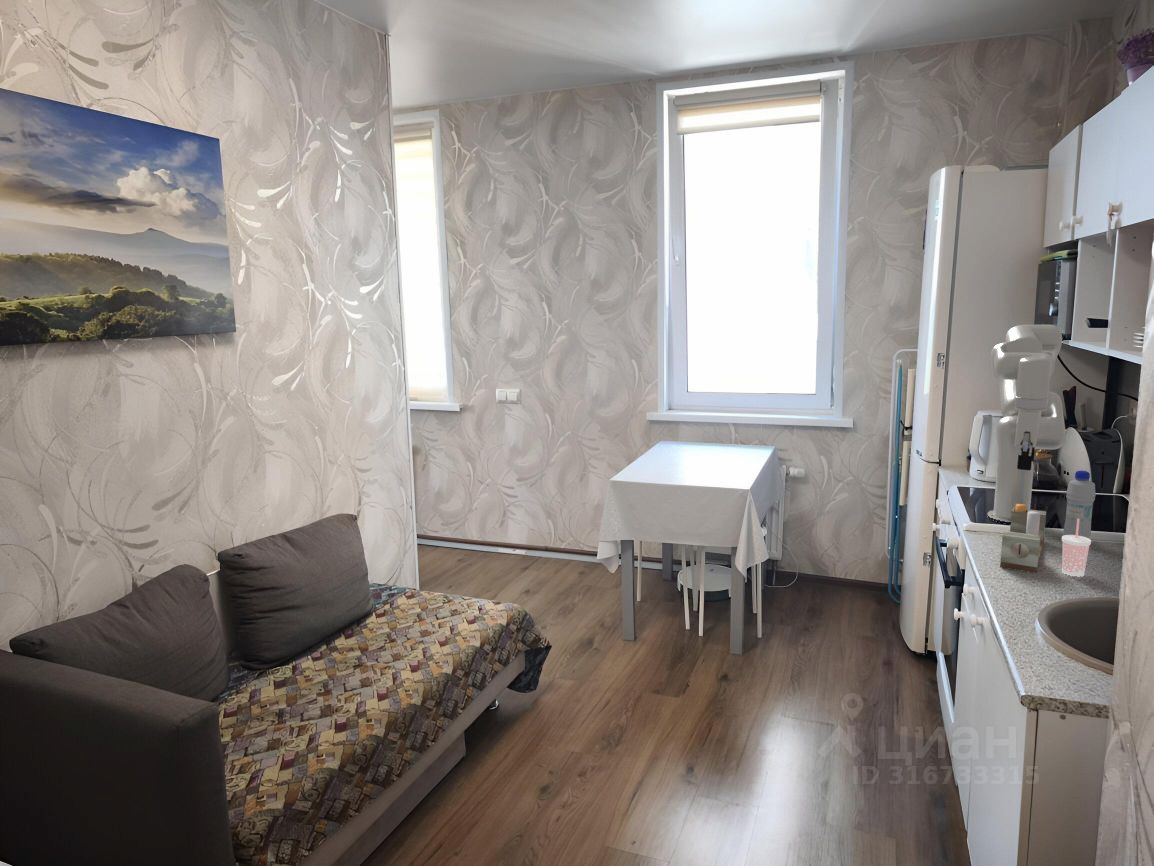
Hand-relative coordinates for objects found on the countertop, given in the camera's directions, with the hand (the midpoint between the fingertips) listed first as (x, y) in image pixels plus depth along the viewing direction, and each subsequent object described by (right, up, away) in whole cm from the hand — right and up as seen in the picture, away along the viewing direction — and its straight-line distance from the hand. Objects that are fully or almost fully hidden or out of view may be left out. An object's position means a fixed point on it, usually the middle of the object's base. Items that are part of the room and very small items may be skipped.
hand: (1025, 465), depth 211 cm
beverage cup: (0, -26, -20) cm, 33 cm away
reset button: (+1, -15, +4) cm, 16 cm away
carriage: (-8, -22, -11) cm, 26 cm away
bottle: (+16, -21, +3) cm, 26 cm away
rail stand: (-4, -23, -6) cm, 24 cm away
